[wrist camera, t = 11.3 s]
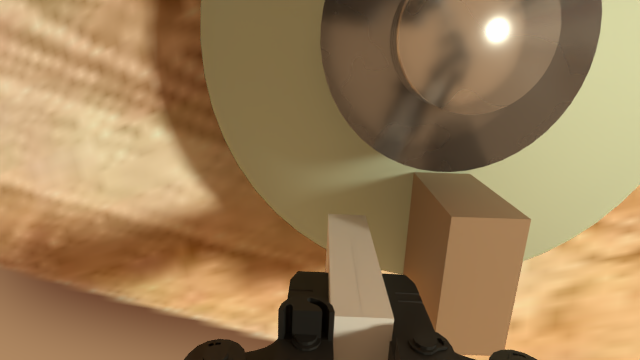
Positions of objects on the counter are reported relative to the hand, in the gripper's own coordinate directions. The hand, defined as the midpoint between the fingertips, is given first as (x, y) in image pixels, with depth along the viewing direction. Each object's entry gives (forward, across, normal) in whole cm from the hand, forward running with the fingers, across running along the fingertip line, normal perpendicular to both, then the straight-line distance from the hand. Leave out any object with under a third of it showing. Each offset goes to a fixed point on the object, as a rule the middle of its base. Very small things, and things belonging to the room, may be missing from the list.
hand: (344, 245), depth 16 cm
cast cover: (+2, +3, +8) cm, 9 cm away
